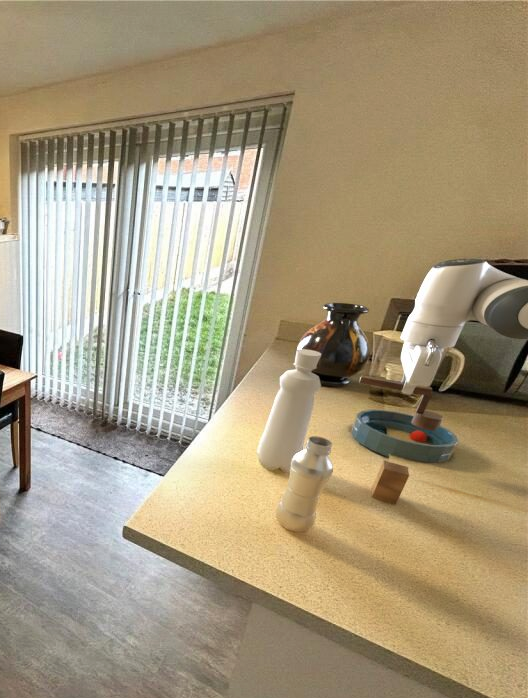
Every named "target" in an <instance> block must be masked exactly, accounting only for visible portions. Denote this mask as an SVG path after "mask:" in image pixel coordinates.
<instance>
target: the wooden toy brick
mask: <svg viewBox="0 0 528 698" xmlns="http://www.w3.org/2000/svg"><path fill="white" fill-rule="evenodd" d="M409 477H410V472H409V467H408V466H406V465H402V464H399V463H395V462H391V461H388V460H384V459H383V460H382V463H381V465H380V468H379V470H378V472H377V474H376V477H375V479H374V481H373V484H372V486H371V498H373V499H376V500H380V501H383V502H386V503H389V504H392V505H397V504H398V501H399V499H400V497H401V494H402V492H403V491H404V489H405V486H406V484H407V481H408V479H409Z"/></svg>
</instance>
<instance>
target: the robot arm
mask: <svg viewBox="0 0 528 698" xmlns="http://www.w3.org/2000/svg"><path fill="white" fill-rule="evenodd" d="M470 321H476V322H480V323H481V324H483V325H485V326H488V327H490V328H491V329H492V330H494V331H495V332H496V333H498V334H499V335H501V336H503V337H506V338H509V339H514V340H528V279H525V278H520V277H517V276H515V275H513V274H509V273H506V272H504V271H502V270H500V269H497V268H496V267H494V266H493V265H491V264H490V263H488V261H487V260H485V259H481V258H455V259H449V260H445V261H441V262H439V263H437V264H435V265H434V266H432V268H430V270H429V271H428V273H427V274H426V276H425V278H424V280H423V281H422V283H421V285H420V287H419V290H418V292H417V295H416V298H415V300H414V307H413V310H412V312H411V313H410V314H409V316H408V317H407V319H406V322H405V324H404V327H403V329H402V332H401V335H400V339H401V340H402V341H404V342H403V345H402V349H401V353H400V362H401V365H402V369H403V375H402V380H401V382H404V383H405V384H404V385H403V387H402V391H401V393H402V394H404V395H412V394H414V393H413V391H414V388H415V387H416V386H417V385H418V386H424V387H430V386H431V384H432V383H433V380H434V379H435V377H436V373H437V371H438V369H439V365H440V363H441V359H442V353H443V352H444V351H445V349H449V348H453V347H456V343H457V342H458V339H459V337H460V335H461V332H462V331H463V329H464V326H465V324H466V323H467V322H470Z"/></svg>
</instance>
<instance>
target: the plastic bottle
mask: <svg viewBox="0 0 528 698" xmlns="http://www.w3.org/2000/svg"><path fill="white" fill-rule="evenodd" d="M332 447H333V442H332V440H329V439H327V438H325V437H322V436H315V435H314V436H309V437H308V439H307V441H306V442H305V445H304V448H305V449H304V448H303V450H302V451H300V452H299V453H297V454H296V455H295V456H294V457H293V458H292V461H291V468H290V473H289V478H288V480H287V485H286V489H285V490H284V493H283V495H282V497H281V499H280V501H279V502H278V503H277V505H276V507H275V518H276V520H277V522H278V524H279V525H280V526H282V527H283V528H285V529H287V530H289V531H291V532H295V533H305V532H308V531H310V530H311V529H312V528H313V527H314V525H315V523H316V517H317V508H318V504H319V499H320V497H321V494H322V493H323V490H324V488H325V486H326V485H327V483H328V482H329V480H330V478H331V477H332V474H333V472H334V466H333V463H332V460H331V459H330V457H329V455H330V454H331V452H332Z"/></svg>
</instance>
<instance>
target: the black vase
mask: <svg viewBox="0 0 528 698" xmlns="http://www.w3.org/2000/svg"><path fill="white" fill-rule="evenodd" d="M322 309H324V310H326V311H327V316H326V317H325V319H324V320H323V321H321V322H319V323H318V324H316V325H314V326H313V327H311V328H310V329H309V330H307V331H306V332H305V333H304V334H303V335H302V337H300V340H299V341H298V344H297V345H296V348H295V352H294V357H295V358H296V352H297V350H300V349H306V350H313V351H317V352H319V353H321V357H320V359H319V361H318V363H317V365H316V367H317V368H316V369H313V370H312V371H311V373H314V374H316V375H317V376H319V379H320V383H321V386H322V387H323V386H324V387H332V388H333V387H334V388H338V387H341V388H342V387H346V386H348V385H351V383H352V378H351V377H352V376H355V375H357V374H359V373H360V372H361V371H363V370H364V369H365V368H366V367H367V366H368V362H369V360H370V355H371V345H370V340H369V338H368V336H367V335H366V333H365V331H364V330H363V329H362V327H361V326H360V324H359V319H360V316H361V315H364V314H367V313H370V308H368V307H367V306H364V305H360V304H355V303H346V302H328V303H324V304H323V305H322ZM295 358H294V359H295Z"/></svg>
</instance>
